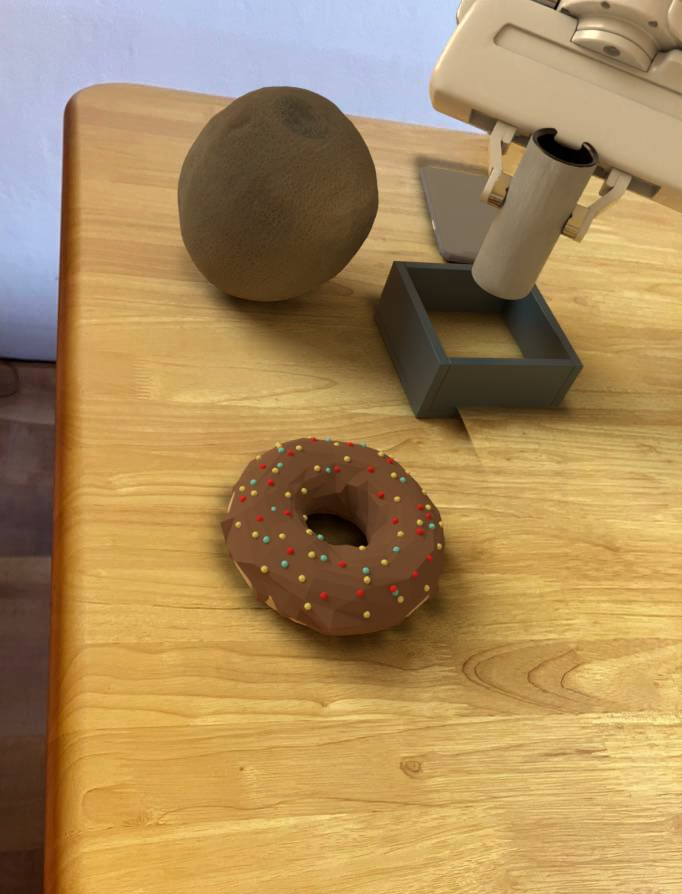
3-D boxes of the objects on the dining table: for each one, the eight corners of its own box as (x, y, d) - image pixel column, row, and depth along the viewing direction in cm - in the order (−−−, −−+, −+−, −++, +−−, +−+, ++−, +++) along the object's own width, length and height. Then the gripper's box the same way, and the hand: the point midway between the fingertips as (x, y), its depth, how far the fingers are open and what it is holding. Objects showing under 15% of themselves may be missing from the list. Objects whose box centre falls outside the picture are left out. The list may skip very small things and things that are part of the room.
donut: (241, 451, 59) (255, 397, 56) (435, 505, 60) (462, 455, 56) (192, 625, 50) (204, 575, 47) (421, 685, 51) (452, 641, 47)
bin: (499, 319, 75) (526, 266, 71) (551, 417, 68) (584, 366, 64) (373, 315, 72) (393, 260, 68) (415, 418, 65) (440, 364, 61)
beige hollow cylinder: (467, 288, 62) (530, 151, 54) (473, 253, 65) (534, 119, 57) (528, 308, 62) (600, 174, 54) (531, 273, 65) (600, 141, 57)
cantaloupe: (194, 349, 65) (227, 158, 53) (150, 232, 72) (171, 43, 61) (366, 340, 69) (431, 163, 58) (308, 232, 77) (356, 56, 65)
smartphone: (491, 176, 88) (523, 266, 79) (488, 185, 89) (518, 275, 79) (419, 163, 86) (442, 253, 77) (416, 172, 87) (439, 262, 78)
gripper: (483, -68, 56) (390, 141, 57) (793, 55, 54) (688, 267, 55) (473, -11, 62) (389, 176, 63) (750, 100, 60) (657, 290, 61)
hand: (531, 219), depth 59 cm, fingers closed on beige hollow cylinder, 4 cm apart
